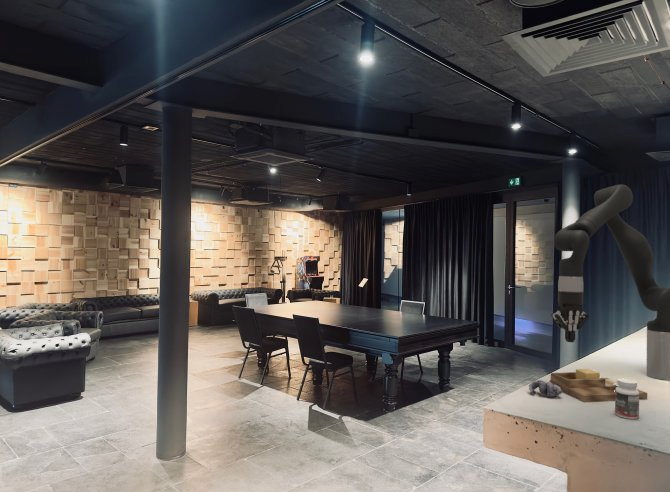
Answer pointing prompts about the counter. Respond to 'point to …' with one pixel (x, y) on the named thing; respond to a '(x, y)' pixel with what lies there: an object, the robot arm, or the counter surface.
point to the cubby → (576, 380)
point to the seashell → (545, 388)
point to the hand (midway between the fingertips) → (569, 341)
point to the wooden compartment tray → (596, 392)
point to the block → (587, 374)
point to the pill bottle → (627, 399)
